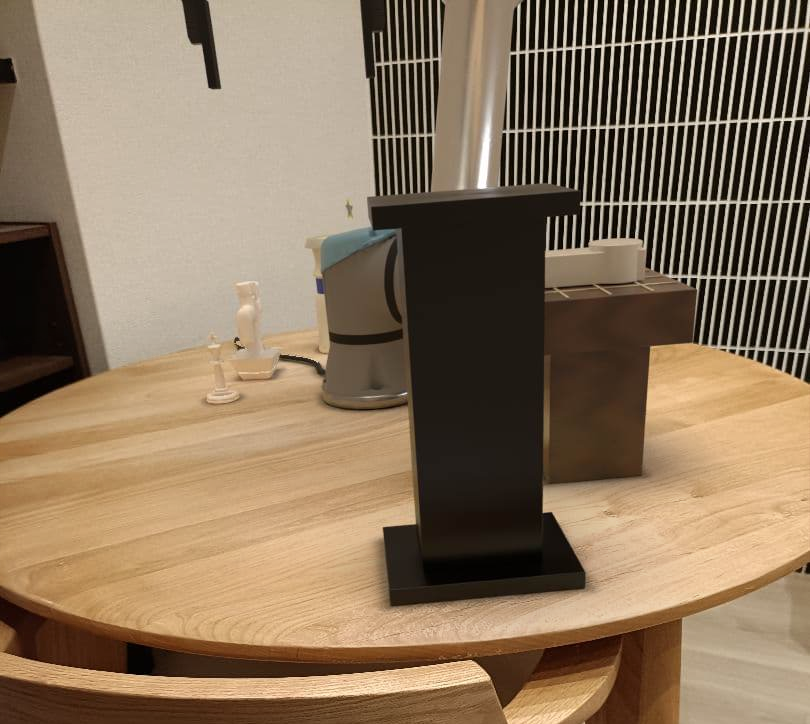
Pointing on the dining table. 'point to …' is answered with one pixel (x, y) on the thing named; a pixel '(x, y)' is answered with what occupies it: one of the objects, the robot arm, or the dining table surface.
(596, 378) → the goban
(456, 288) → the stand
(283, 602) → the dining table surface
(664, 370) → the dining table surface
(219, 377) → the chess piece
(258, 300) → the figurine
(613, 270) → the white long bar
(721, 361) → the dining table surface
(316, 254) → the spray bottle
